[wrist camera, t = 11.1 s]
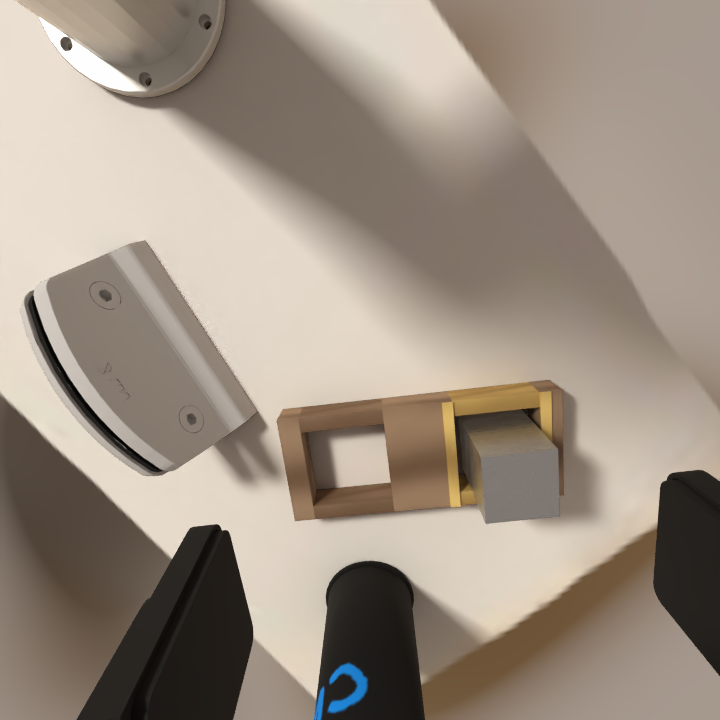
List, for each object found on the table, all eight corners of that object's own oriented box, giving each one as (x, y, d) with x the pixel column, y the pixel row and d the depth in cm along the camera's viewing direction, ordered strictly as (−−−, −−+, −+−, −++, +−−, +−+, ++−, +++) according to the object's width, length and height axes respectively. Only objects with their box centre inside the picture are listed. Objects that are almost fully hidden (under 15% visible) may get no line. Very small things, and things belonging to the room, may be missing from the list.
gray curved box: (259, 415, 37) (180, 492, 29) (222, 431, 39) (138, 507, 31) (142, 235, 34) (11, 262, 25) (108, 263, 36) (-23, 297, 27)
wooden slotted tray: (282, 409, 37) (276, 421, 34) (549, 379, 36) (563, 390, 33) (299, 504, 39) (294, 522, 37) (551, 479, 38) (564, 496, 35)
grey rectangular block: (457, 413, 37) (480, 457, 29) (518, 405, 37) (558, 449, 29) (462, 467, 38) (485, 523, 30) (521, 460, 38) (559, 516, 30)
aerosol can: (428, 580, 41) (480, 879, 22) (390, 644, 43) (406, 972, 24) (347, 546, 40) (326, 825, 21) (312, 613, 42) (263, 925, 23)
